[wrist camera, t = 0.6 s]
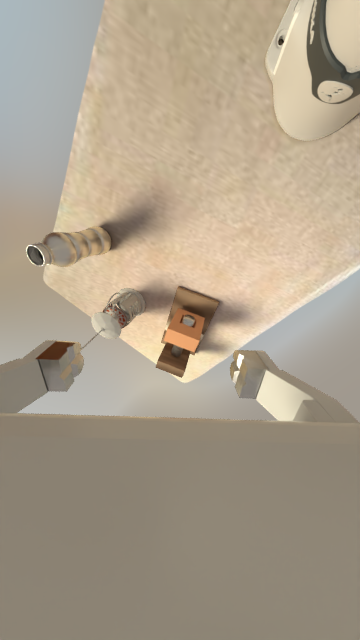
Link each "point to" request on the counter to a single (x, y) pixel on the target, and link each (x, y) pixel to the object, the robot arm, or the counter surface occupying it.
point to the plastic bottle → (69, 247)
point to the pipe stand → (183, 301)
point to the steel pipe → (188, 321)
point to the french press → (118, 313)
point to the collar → (184, 331)
